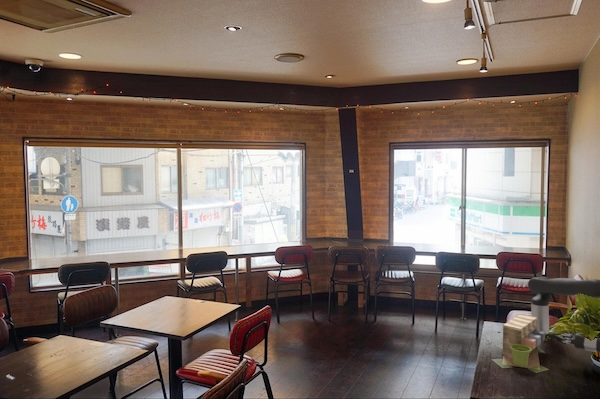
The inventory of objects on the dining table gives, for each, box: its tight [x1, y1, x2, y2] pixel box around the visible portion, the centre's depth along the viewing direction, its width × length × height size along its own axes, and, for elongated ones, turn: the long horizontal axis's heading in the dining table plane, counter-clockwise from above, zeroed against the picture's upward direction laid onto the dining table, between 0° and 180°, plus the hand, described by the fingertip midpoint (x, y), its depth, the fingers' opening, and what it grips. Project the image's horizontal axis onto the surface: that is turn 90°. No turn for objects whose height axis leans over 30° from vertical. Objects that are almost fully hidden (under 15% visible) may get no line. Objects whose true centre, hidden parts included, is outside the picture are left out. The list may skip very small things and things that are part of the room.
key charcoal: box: [532, 330, 546, 342], centre depth 253 cm, size 4×6×4 cm, turn 47°
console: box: [502, 313, 538, 359], centre depth 252 cm, size 25×9×16 cm, turn 137°
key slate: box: [528, 334, 542, 346], centre depth 247 cm, size 4×6×4 cm, turn 47°
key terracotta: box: [523, 337, 537, 350], centre depth 242 cm, size 4×6×4 cm, turn 47°
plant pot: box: [510, 344, 532, 368], centre depth 234 cm, size 9×9×9 cm
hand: (548, 334), depth 242 cm, fingers closed
